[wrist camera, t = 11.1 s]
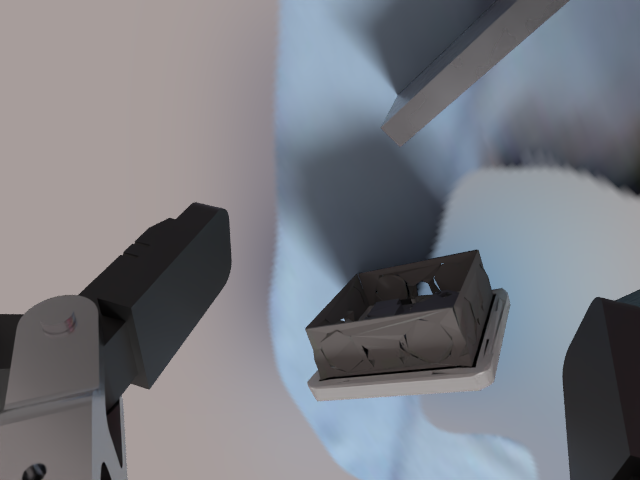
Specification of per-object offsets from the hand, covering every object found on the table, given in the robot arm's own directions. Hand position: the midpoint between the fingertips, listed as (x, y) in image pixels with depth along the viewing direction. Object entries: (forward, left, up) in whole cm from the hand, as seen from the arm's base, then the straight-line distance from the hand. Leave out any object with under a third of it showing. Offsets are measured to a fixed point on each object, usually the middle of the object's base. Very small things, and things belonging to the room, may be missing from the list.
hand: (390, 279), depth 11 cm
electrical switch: (-8, +10, -16) cm, 20 cm away
